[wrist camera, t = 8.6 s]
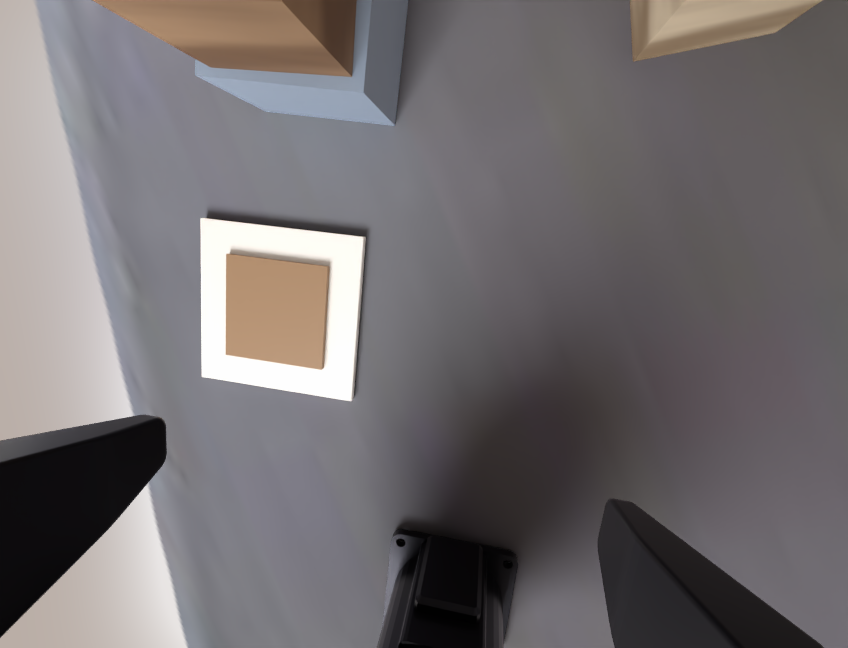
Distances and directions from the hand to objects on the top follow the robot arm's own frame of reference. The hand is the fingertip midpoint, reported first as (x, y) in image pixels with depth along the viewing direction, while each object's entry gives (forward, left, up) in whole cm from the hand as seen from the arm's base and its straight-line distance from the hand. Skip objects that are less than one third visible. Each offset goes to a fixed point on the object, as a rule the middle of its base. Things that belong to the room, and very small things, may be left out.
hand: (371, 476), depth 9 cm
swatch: (0, +8, -12) cm, 15 cm away
